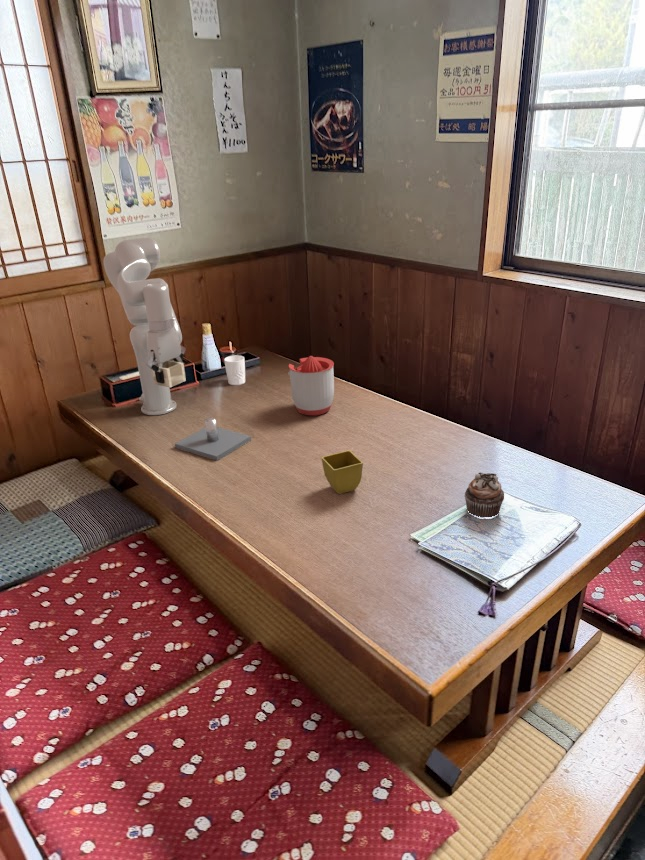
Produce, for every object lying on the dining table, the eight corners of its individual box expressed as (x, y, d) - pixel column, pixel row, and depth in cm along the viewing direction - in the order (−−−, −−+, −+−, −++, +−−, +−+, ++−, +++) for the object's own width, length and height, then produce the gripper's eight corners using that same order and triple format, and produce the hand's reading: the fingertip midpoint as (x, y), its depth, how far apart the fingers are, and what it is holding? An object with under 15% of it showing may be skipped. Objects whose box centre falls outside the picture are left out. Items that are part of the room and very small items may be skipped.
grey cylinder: (204, 440, 202) (202, 420, 199) (212, 436, 205) (209, 416, 202) (213, 443, 200) (210, 423, 197) (220, 438, 203) (218, 418, 200)
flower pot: (322, 485, 176) (320, 456, 173) (350, 477, 179) (349, 449, 176) (335, 499, 169) (333, 470, 165) (364, 491, 172) (363, 462, 168)
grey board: (175, 447, 202) (174, 443, 201) (210, 428, 214) (209, 424, 213) (217, 460, 192) (216, 456, 192) (251, 440, 204) (250, 436, 204)
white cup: (245, 385, 249) (242, 361, 245) (225, 386, 249) (222, 362, 245) (248, 378, 256) (245, 354, 252) (228, 379, 256) (225, 355, 252)
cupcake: (460, 501, 165) (462, 468, 161) (498, 500, 165) (501, 467, 161) (467, 522, 157) (469, 487, 152) (506, 521, 156) (510, 486, 152)
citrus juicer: (305, 397, 235) (302, 345, 227) (344, 406, 226) (342, 352, 217) (278, 411, 224) (274, 358, 215) (318, 422, 214) (315, 366, 206)
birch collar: (154, 384, 203) (151, 366, 200) (170, 377, 208) (167, 359, 205) (169, 387, 199) (167, 369, 196) (185, 380, 204) (183, 362, 202)
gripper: (173, 316, 204) (181, 368, 211) (130, 330, 191) (140, 385, 198) (189, 319, 200) (197, 372, 207) (147, 333, 187) (157, 389, 194)
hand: (169, 378), depth 203 cm, fingers closed on birch collar, 7 cm apart
